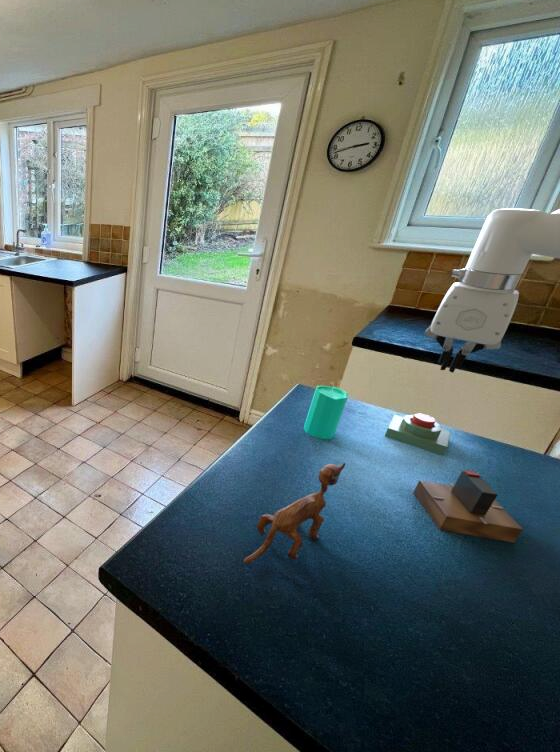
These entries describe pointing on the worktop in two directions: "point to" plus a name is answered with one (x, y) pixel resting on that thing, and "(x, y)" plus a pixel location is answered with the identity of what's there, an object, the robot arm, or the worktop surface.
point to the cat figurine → (298, 515)
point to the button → (423, 420)
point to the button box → (418, 434)
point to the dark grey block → (474, 492)
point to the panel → (465, 514)
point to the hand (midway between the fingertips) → (447, 368)
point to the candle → (325, 411)
